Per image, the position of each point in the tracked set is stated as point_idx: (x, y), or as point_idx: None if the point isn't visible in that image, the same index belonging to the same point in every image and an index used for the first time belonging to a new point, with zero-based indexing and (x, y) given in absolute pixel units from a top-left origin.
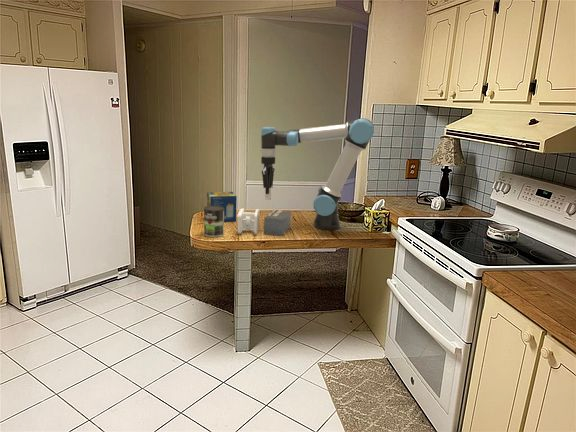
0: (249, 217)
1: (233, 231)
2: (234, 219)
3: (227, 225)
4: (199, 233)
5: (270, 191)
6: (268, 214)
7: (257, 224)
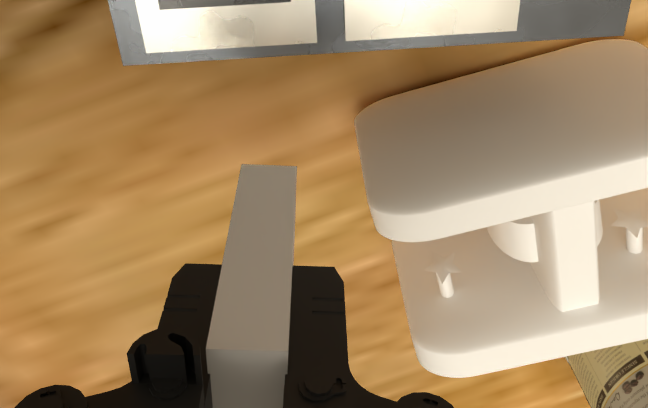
0: (595, 209)
1: None
2: None
3: (382, 339)
4: None
5: (246, 279)
6: (428, 42)
7: (624, 75)
